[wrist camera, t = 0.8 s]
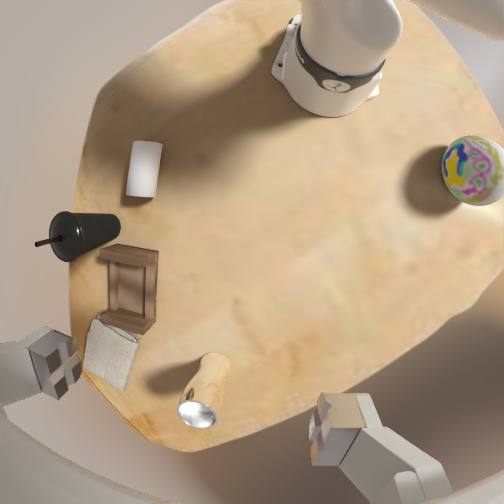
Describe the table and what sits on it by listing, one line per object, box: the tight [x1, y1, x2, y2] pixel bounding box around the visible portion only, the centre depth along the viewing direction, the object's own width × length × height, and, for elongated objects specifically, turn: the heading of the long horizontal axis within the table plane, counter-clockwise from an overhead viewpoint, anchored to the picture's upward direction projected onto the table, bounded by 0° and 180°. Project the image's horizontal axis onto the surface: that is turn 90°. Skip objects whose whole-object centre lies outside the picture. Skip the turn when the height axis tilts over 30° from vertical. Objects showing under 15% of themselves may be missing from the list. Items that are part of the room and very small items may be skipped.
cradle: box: [99, 244, 159, 335], centre depth 47 cm, size 14×9×6 cm, turn 172°
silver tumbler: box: [177, 353, 230, 429], centre depth 44 cm, size 7×7×15 cm
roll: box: [126, 141, 163, 197], centre depth 43 cm, size 9×5×5 cm, turn 172°
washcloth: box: [83, 312, 141, 391], centre depth 53 cm, size 12×18×3 cm, turn 154°
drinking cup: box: [35, 211, 121, 262], centre depth 38 cm, size 8×8×20 cm
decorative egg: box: [442, 136, 504, 206], centre depth 33 cm, size 12×12×15 cm
